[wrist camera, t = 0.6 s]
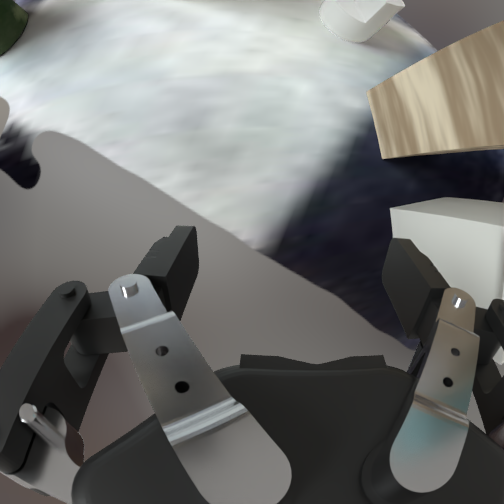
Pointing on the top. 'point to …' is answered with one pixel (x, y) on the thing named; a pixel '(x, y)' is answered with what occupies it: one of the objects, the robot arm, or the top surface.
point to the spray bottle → (11, 23)
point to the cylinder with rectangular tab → (357, 17)
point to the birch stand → (445, 100)
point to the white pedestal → (459, 244)
